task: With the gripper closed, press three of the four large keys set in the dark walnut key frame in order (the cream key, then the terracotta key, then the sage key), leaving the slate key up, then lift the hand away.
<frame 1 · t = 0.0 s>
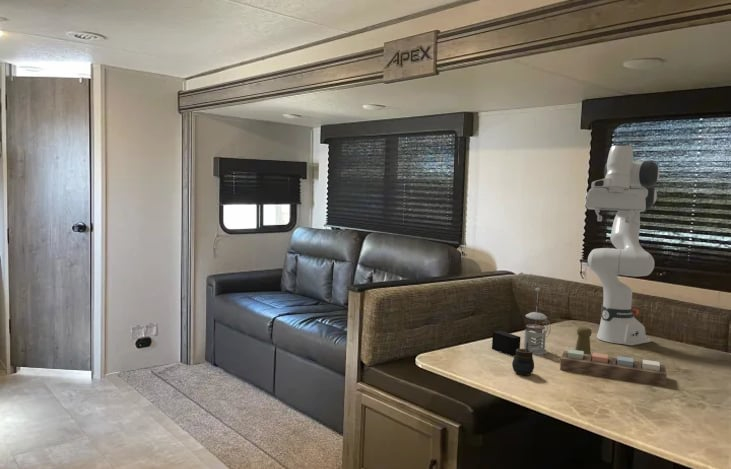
hand: (613, 221, 210), 52 cm above the table, tool tilted 20°, fingers open, 8 cm apart
slate key: (625, 362, 198), point 4 cm above the table, slide at 0.0 cm
cork: (582, 356, 221), on the table
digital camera: (506, 352, 223), on the table
terracotta key: (600, 358, 201), point 4 cm above the table, slide at 0.0 cm
cream key: (650, 366, 195), point 4 cm above the table, slide at 0.0 cm
french press: (535, 351, 225), on the table
sage key: (575, 355, 205), point 4 cm above the table, slide at 0.0 cm
key frame: (611, 373, 200), on the table
mate gourd: (522, 373, 197), on the table
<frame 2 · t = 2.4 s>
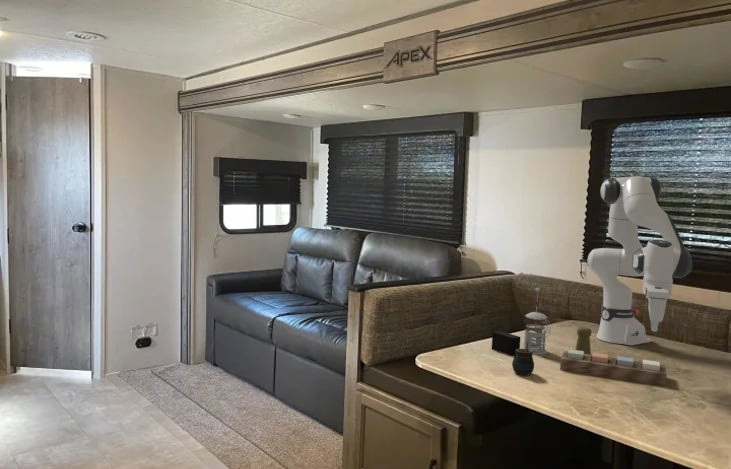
hand: (653, 329, 194), 17 cm above the table, tool pointing down, fingers open, 4 cm apart
nothing on the table moved.
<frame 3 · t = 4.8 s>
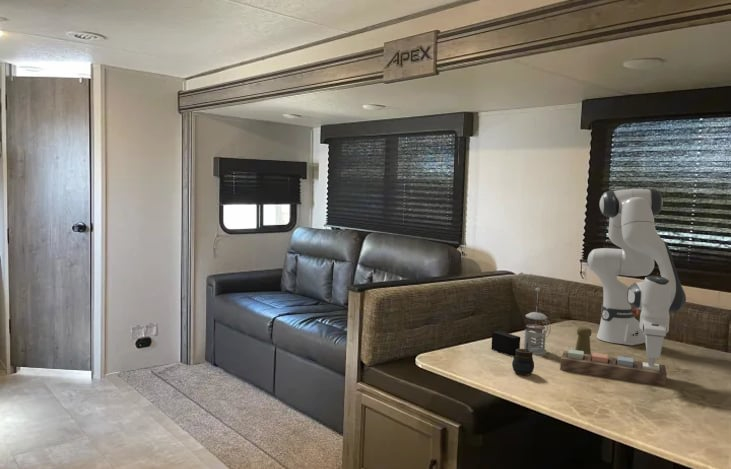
hand: (650, 365, 195), 5 cm above the table, tool pointing down, fingers closed, pressing on cream key
cream key: (650, 368, 195), point 4 cm above the table, slide at 0.9 cm, touching gripper
everything else where it was.
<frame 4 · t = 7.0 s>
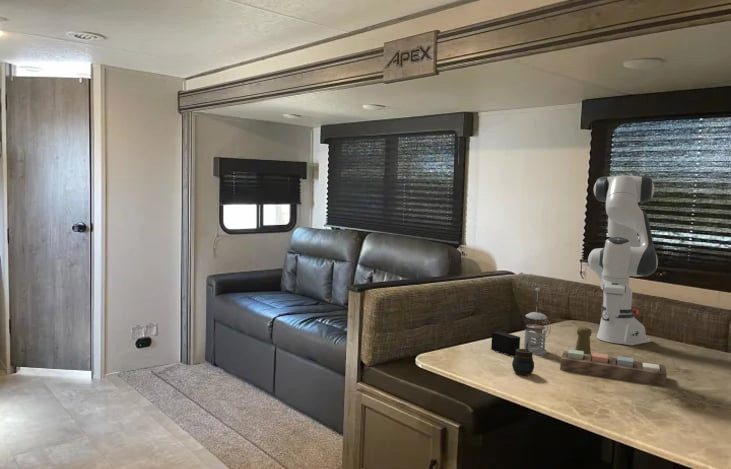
hand: (611, 324, 199), 17 cm above the table, tool pointing down, fingers closed
cream key: (650, 369, 195), point 3 cm above the table, slide at 1.0 cm
everything else where it was.
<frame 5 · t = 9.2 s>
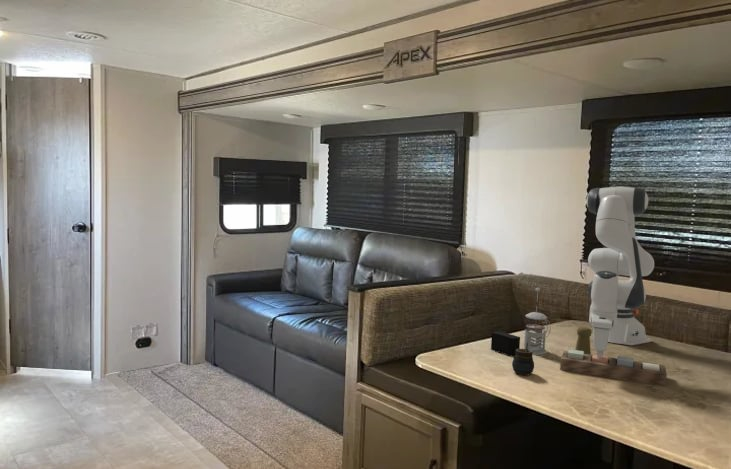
hand: (600, 357, 201), 5 cm above the table, tool pointing down, fingers closed, pressing on terracotta key
terracotta key: (599, 360, 202), point 4 cm above the table, slide at 0.7 cm, touching gripper
everything else where it was.
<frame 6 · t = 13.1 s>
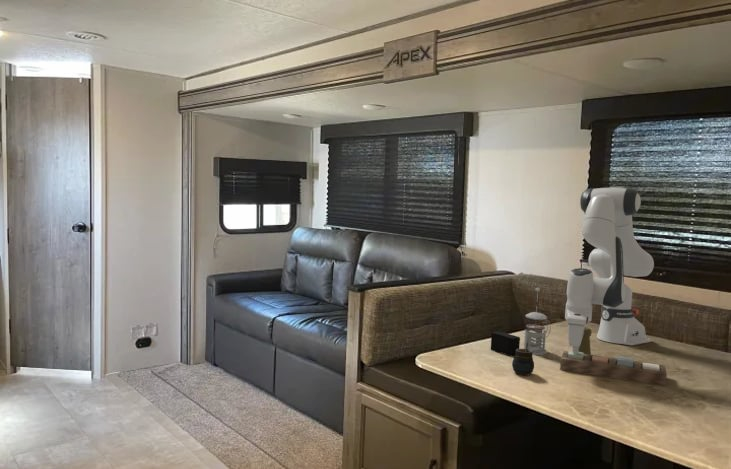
hand: (575, 353, 205), 5 cm above the table, tool pointing down, fingers closed, pressing on sage key
terracotta key: (599, 361, 202), point 3 cm above the table, slide at 1.0 cm
sage key: (575, 356, 205), point 4 cm above the table, slide at 0.5 cm, touching gripper
everything else where it was.
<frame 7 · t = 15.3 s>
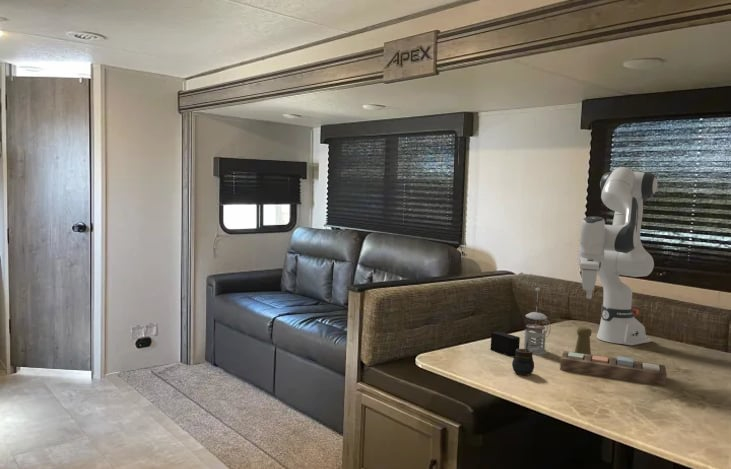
hand: (589, 297, 213), 23 cm above the table, tool pointing down, fingers closed
sage key: (575, 358, 205), point 3 cm above the table, slide at 1.0 cm
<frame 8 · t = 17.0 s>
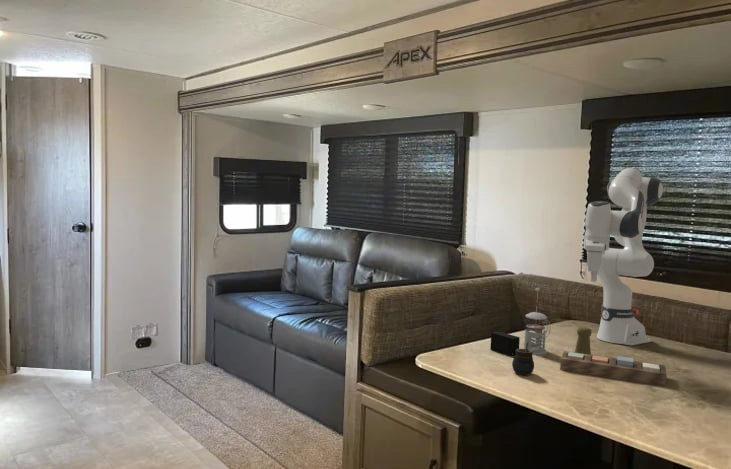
hand: (593, 281, 217), 29 cm above the table, tool pointing down, fingers closed
at the end: cream key slide at 1.0 cm; terracotta key slide at 1.0 cm; sage key slide at 1.0 cm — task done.
